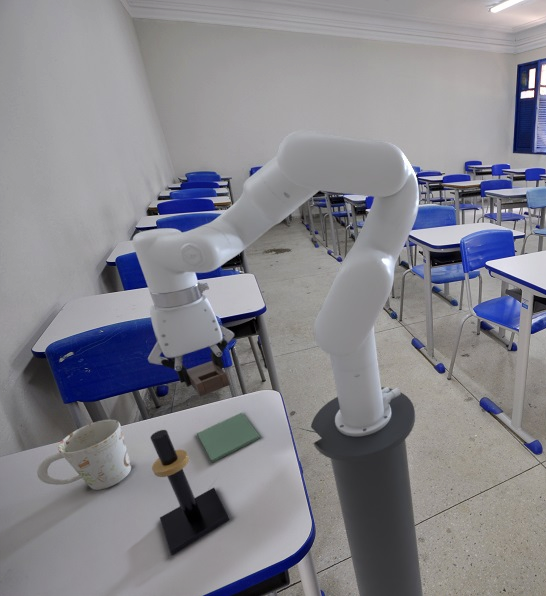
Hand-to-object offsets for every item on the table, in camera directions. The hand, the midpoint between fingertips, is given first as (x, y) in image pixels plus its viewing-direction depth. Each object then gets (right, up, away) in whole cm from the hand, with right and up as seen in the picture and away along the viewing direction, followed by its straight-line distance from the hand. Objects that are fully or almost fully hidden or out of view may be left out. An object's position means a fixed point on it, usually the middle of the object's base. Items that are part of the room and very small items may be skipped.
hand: (203, 376), depth 77 cm
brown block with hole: (+3, -1, -3) cm, 4 cm away
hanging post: (+9, -20, -16) cm, 27 cm away
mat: (+4, -13, +2) cm, 14 cm away
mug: (-15, -18, -7) cm, 25 cm away
